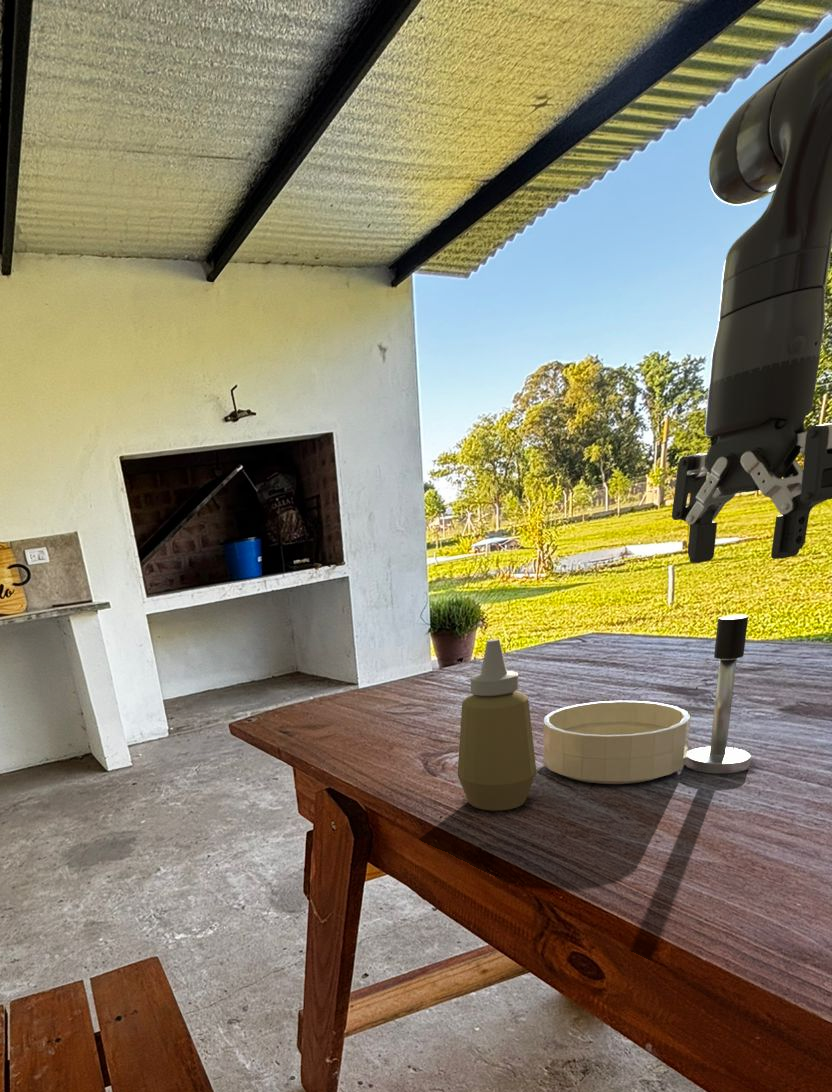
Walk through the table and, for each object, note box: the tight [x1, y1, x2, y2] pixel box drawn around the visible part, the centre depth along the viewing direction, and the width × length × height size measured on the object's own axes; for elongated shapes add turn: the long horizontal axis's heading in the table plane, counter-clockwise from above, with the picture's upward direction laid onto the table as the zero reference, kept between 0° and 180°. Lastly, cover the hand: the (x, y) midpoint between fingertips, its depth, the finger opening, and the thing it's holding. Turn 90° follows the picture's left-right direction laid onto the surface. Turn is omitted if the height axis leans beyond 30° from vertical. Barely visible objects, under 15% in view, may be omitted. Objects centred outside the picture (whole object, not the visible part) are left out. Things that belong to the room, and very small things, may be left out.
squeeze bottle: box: [457, 638, 537, 812], centre depth 66 cm, size 8×8×18 cm
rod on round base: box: [684, 614, 751, 775], centre depth 65 cm, size 6×6×16 cm
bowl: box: [542, 700, 692, 785], centre depth 71 cm, size 14×14×6 cm
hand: (739, 559), depth 60 cm, fingers open, 8 cm apart
